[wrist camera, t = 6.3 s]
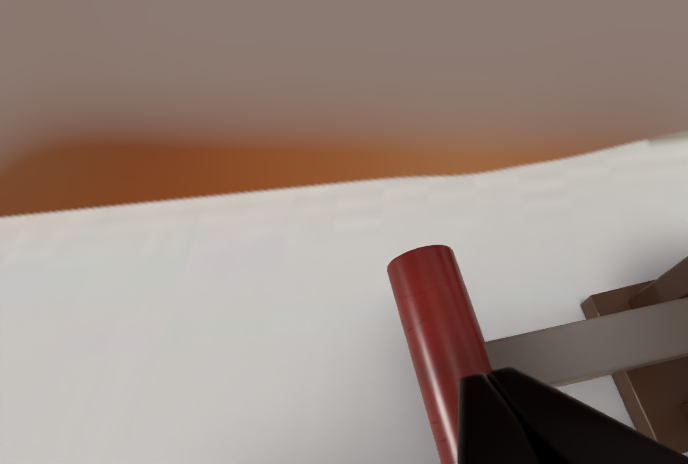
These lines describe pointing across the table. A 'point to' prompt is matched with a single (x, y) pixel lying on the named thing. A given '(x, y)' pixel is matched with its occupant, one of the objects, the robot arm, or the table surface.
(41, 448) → the table surface
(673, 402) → the rod bracket
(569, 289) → the table surface
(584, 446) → the robot arm
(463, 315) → the crank
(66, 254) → the table surface
